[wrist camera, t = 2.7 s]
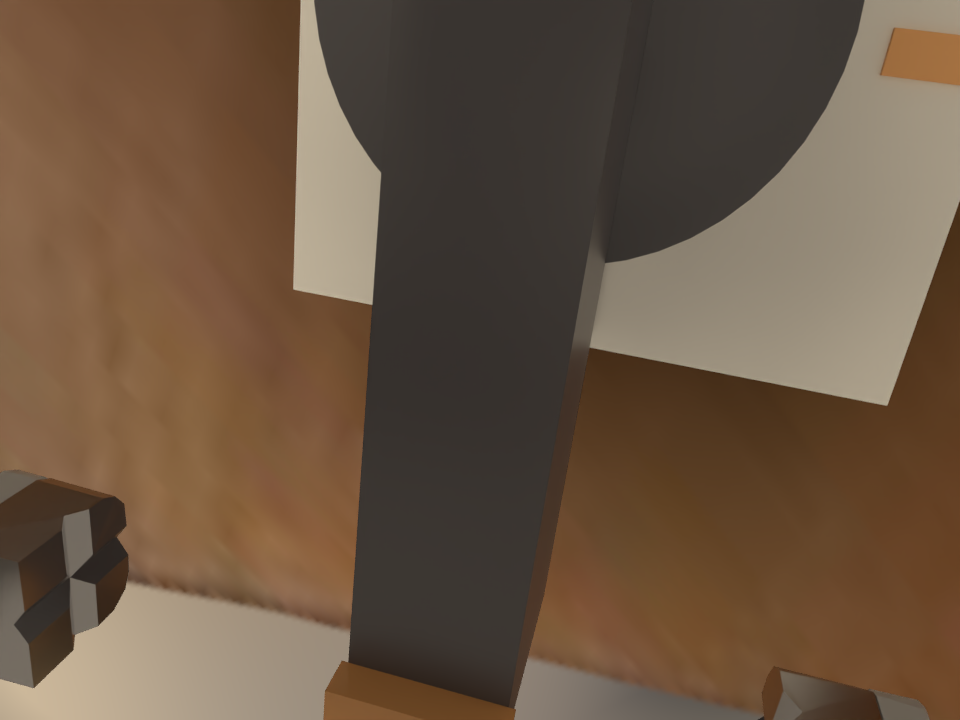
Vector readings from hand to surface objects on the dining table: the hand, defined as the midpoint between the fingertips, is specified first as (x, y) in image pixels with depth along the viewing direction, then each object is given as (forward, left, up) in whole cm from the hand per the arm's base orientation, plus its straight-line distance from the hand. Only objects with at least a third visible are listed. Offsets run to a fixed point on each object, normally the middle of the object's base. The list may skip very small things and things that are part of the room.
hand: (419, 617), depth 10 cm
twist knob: (-4, 0, -7) cm, 8 cm away
